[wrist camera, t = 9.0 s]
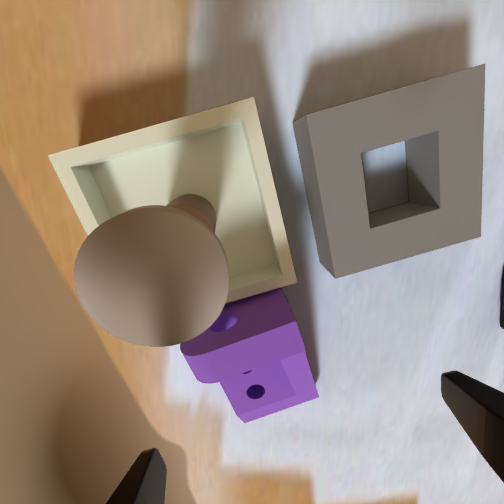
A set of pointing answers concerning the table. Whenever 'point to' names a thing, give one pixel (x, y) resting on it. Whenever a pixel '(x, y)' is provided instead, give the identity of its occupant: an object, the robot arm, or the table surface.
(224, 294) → the peg
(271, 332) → the bracket
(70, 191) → the tray
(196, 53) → the table surface
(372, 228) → the holder
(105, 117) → the table surface
